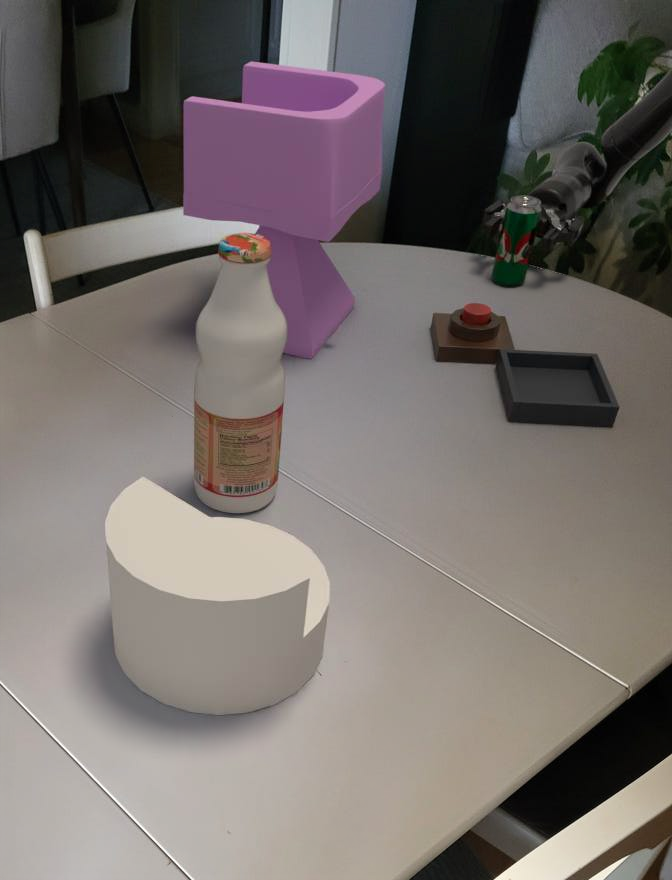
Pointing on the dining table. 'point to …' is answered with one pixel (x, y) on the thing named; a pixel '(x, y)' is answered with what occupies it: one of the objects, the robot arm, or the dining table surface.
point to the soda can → (516, 240)
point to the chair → (289, 179)
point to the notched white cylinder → (211, 604)
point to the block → (469, 338)
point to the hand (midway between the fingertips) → (516, 237)
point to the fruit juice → (239, 382)
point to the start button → (476, 314)
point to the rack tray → (555, 388)
